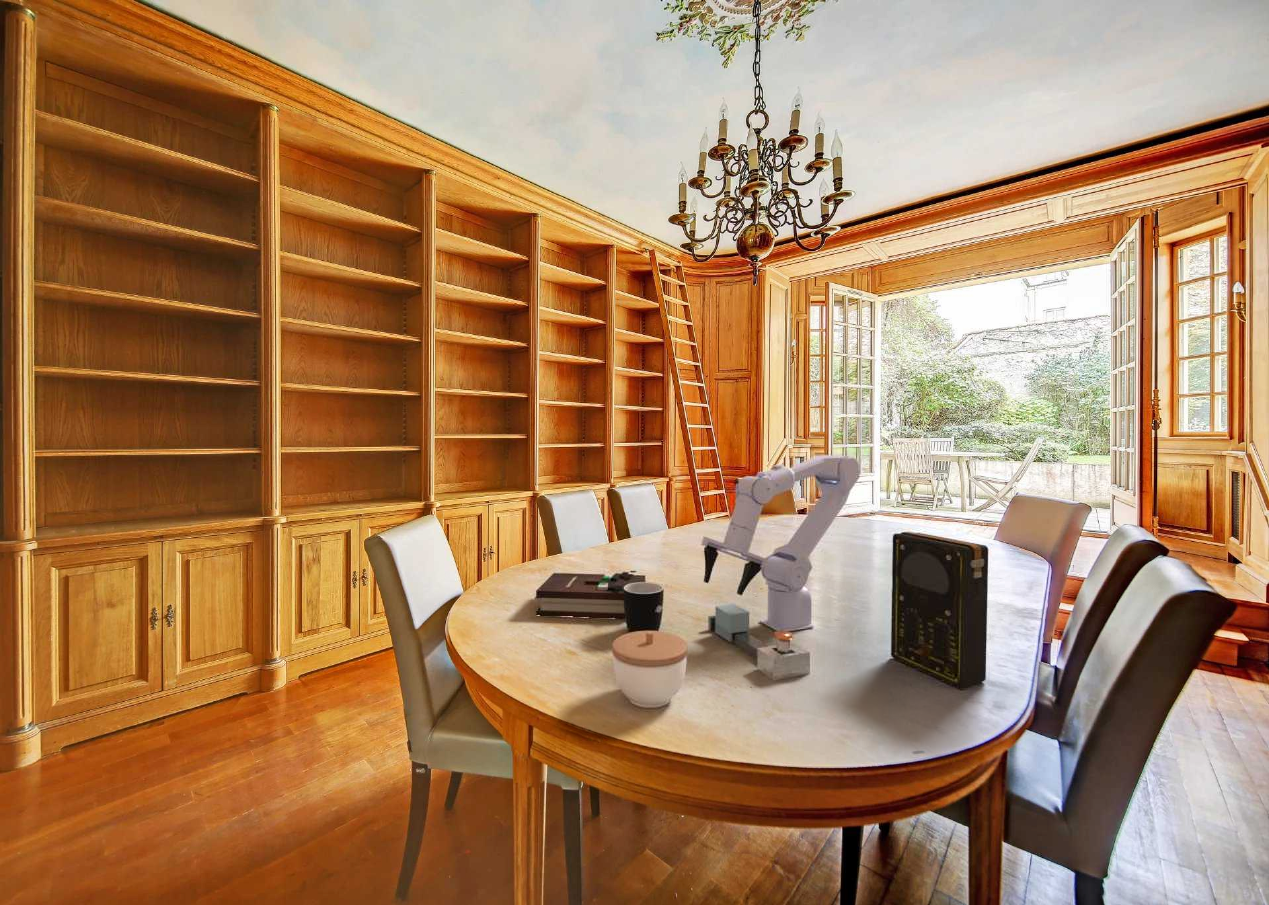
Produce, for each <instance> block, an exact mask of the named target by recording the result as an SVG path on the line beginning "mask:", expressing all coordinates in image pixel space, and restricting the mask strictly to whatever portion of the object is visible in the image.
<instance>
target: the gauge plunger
mask: <svg viewBox="0 0 1269 905" xmlns="http://www.w3.org/2000/svg"><path fill="white" fill-rule="evenodd" d="M774 637H775V639H776V645H777V652H778V653H779V654H781V655H783V654H789V653H790V643H791V641H792V640H793V637H794V636H793V633H792V632H791V631H776V630H775V631H774Z"/></svg>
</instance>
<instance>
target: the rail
mask: <svg viewBox="0 0 1269 905" xmlns="http://www.w3.org/2000/svg"><path fill="white" fill-rule="evenodd" d="M707 617H708V625H707V626H708V629H707V630H708V631H709V632H713V631H714V632H715V615H710V616H707ZM731 643H733V644H734V645H735V646H737V647H738V648H739V649H741V650H742V651H744V652H745V653H747V654H748V655H750V656H751V657H753V658H754V659H756V660H757V648H763V647H768V645H767V644H766V643H765V642H762V641H761V640H759V639H758V638H755V637H754V636H753V635H751V634H750V633H749V634H748V633H746V632H745V631H744V632H737V633H732V642H731Z"/></svg>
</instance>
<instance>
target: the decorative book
mask: <svg viewBox="0 0 1269 905" xmlns="http://www.w3.org/2000/svg"><path fill="white" fill-rule="evenodd" d="M635 573H637V570H629V572H628V571H622V573H620V572H619V573H618V572H615V573H614V574H609V573H607V574H605V573H575V572H574V573H573V572H572V573H571V572H568V573H567V572H553V573H552V574H551V575H550V576H549V577H548V578H547V579H546V580H545V581H544V582H543V583H542V585H540V586H539V587H538V588H537V589H536V590H535V592H536V593H535V597H534V599H537V600H538V599H539V600H538V601H537V602H536V604H540V607H538V608H537V610H536V611H535V613H536V614H535V616H536V615H540V616H573V617H589V618H588V619H594V618H615V619H614V620H622V619H625V611H624V598H623V588H624V586H626V585H628V584H631V583H638V582H646V575H642V574H641V575H640V574H635Z"/></svg>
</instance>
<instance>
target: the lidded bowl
mask: <svg viewBox="0 0 1269 905" xmlns="http://www.w3.org/2000/svg"><path fill="white" fill-rule="evenodd" d="M611 647H612V648H611V649H612V650H611V651H612V666H613V673H614V676H615V681H616V683H617V686H618V687H619V689H620V690H621V692H622V693H623V695H625V696H626V697H627V699H628V700H629V702H630V703H631V704H632V705H634V706H637V707H640V708H645V709H657V708H662V707H664V706H665V705H668V704H669V703H670V702H671V700H672V699H673V697H675V696H676V694H677V693H679V691H680V689H681V688H682V685H683V683H684V680H685V676H686V671H687V660H688V658H687V655H688V644H687V642H686V641H685V640H684V639H683V638H682V637H681V636H678V635H677V634H673V633H670V632H666V631H660V630H659V631H637V632H631V633H629V632H627V633H624V634H622V635H620V636H618V637H617V638H615V639H614V640H613V642H612V645H611Z"/></svg>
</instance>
